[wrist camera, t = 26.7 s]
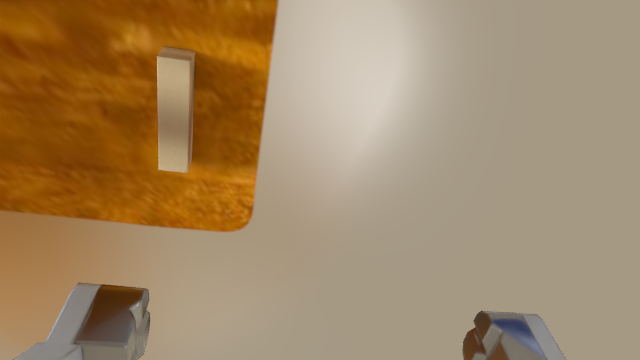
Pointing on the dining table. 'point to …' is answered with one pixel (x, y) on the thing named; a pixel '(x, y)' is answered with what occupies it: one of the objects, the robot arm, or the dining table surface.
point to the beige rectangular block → (175, 108)
